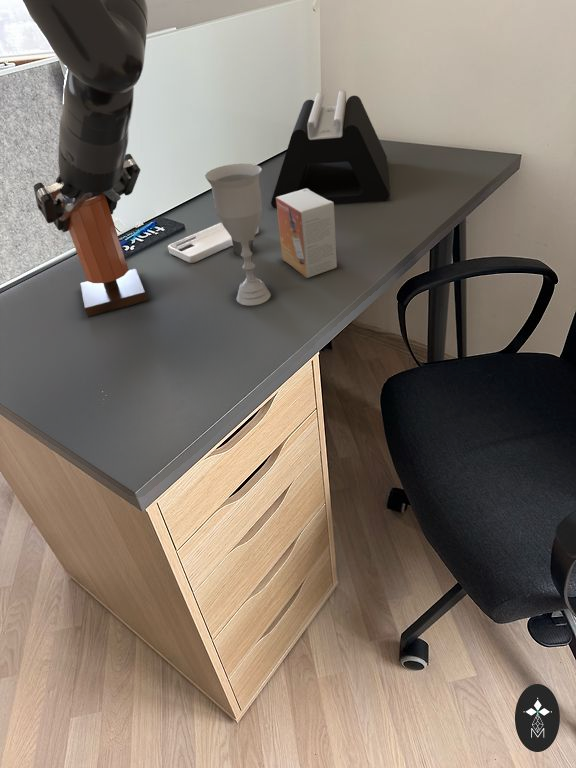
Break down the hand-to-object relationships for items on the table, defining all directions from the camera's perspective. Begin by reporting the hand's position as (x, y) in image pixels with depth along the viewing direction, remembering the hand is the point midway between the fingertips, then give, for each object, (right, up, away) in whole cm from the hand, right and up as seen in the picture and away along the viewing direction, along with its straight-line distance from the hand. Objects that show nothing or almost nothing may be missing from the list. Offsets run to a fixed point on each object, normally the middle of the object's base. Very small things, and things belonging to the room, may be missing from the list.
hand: (84, 217), depth 82 cm
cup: (+2, -7, +4) cm, 9 cm away
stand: (+2, -10, +6) cm, 12 cm away
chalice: (+24, -11, +2) cm, 27 cm away
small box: (+33, -5, +8) cm, 34 cm away
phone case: (+16, +1, +18) cm, 25 cm away
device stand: (+38, +17, +35) cm, 55 cm away
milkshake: (+22, -2, +14) cm, 26 cm away
